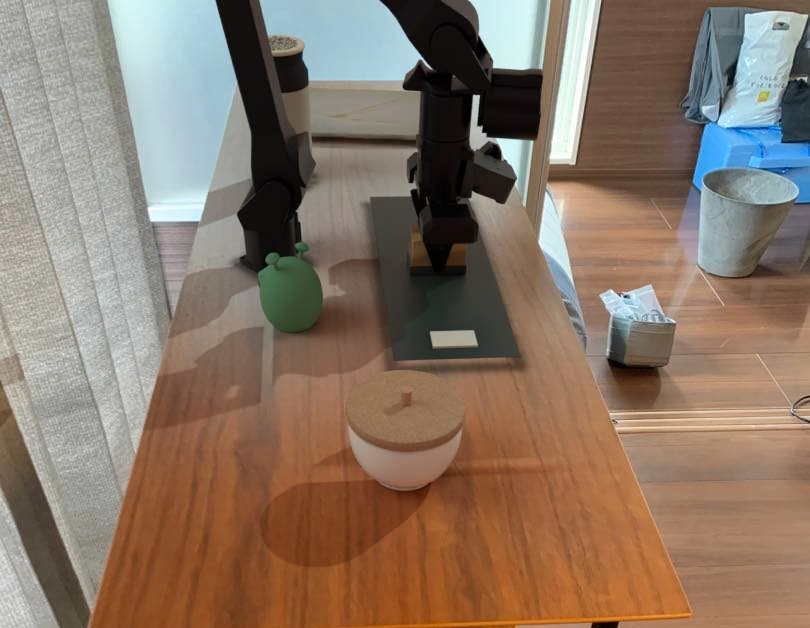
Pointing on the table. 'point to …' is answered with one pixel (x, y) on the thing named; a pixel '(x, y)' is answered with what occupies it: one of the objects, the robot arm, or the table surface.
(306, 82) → the travel mug
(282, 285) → the alien toy
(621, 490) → the table surface
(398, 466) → the trinket box
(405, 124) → the decorative slab
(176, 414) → the table surface
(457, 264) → the eraser
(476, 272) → the board
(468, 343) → the smudge
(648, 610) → the table surface
